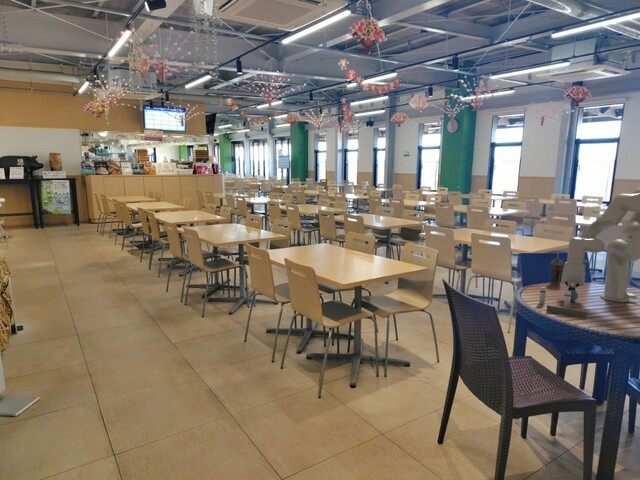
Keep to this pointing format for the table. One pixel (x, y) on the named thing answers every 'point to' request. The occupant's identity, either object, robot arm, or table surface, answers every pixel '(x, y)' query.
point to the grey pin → (542, 295)
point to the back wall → (566, 311)
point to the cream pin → (567, 299)
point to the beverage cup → (556, 270)
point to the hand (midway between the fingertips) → (571, 294)
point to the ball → (573, 295)
